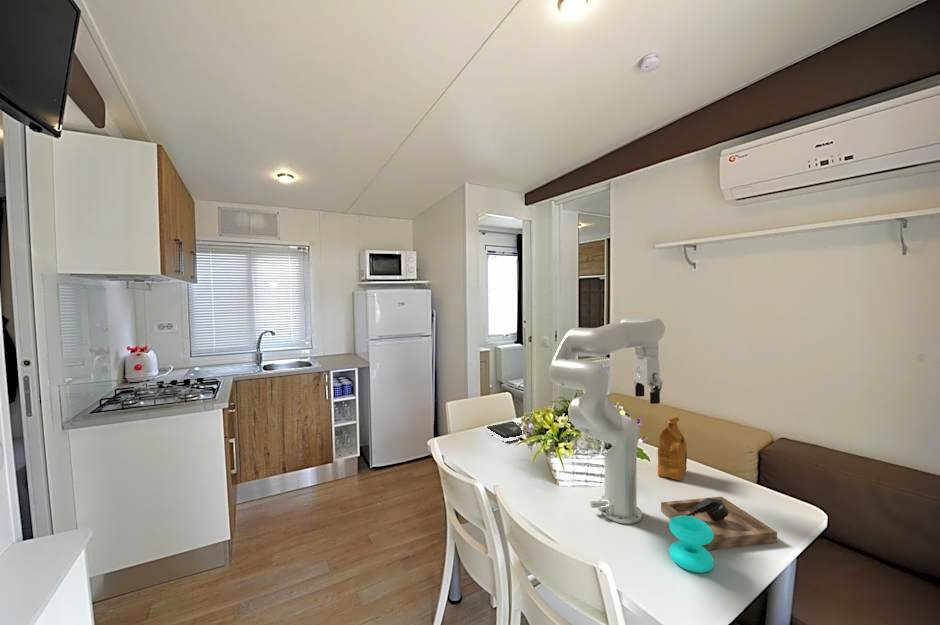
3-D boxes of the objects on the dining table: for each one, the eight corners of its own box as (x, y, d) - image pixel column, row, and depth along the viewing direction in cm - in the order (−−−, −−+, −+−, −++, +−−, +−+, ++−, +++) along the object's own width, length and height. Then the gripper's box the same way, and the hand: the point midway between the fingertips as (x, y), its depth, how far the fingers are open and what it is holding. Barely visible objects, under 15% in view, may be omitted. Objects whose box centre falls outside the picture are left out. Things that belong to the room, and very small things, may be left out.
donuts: (713, 519, 100) (714, 540, 91) (713, 557, 100) (714, 580, 92) (670, 509, 105) (667, 528, 97) (670, 544, 105) (667, 566, 97)
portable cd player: (532, 437, 192) (532, 429, 192) (505, 443, 184) (504, 435, 184) (513, 428, 207) (513, 421, 207) (487, 434, 198) (486, 426, 198)
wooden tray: (706, 550, 103) (706, 539, 102) (661, 511, 122) (660, 502, 122) (777, 542, 105) (777, 531, 105) (721, 505, 125) (721, 496, 125)
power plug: (678, 510, 119) (712, 490, 117) (694, 531, 118) (728, 511, 116) (685, 520, 113) (721, 500, 111) (701, 542, 113) (738, 522, 111)
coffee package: (691, 472, 149) (691, 417, 148) (682, 484, 140) (681, 425, 139) (664, 465, 156) (663, 412, 155) (653, 476, 147) (653, 419, 146)
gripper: (624, 349, 142) (625, 394, 143) (650, 355, 125) (650, 406, 126) (643, 348, 143) (644, 393, 143) (671, 354, 126) (672, 405, 126)
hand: (647, 399), depth 134 cm, fingers open, 9 cm apart
